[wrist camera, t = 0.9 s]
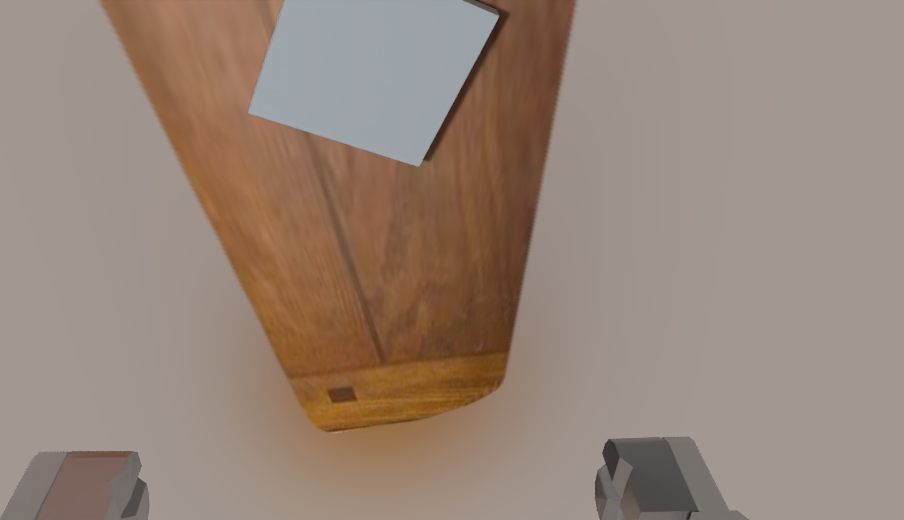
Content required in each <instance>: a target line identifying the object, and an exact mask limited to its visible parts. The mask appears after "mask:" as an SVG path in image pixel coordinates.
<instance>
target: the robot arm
mask: <svg viewBox="0 0 904 520" xmlns="http://www.w3.org/2000/svg"><path fill="white" fill-rule="evenodd" d="M602 454H603V457H604V460H605V463H606V464H605V465H603V466H602V467H601V468H600V469H599V470H598V471H597V476H596V480H595V501H596V507H597V511H598V515H599V518H600V520H749V519H747V518H746V517H745V516H744V515H742V514H741V513H740V512H738V511H729V509H728V507H727V505H726V503H725V501H724V499H723V497H722V495H721V493H720V491H719V489H718V487H717V486H716V483H715V481H714V480H713V478H712V475H711V474H710V471H709V469H708V468H707V466H706V464H705V462H704V460H703V458H702V456H701V454H700V452H699V450H698V448H697V446H696V444H695V442H694V441H693V440H692V439H691V438H690V437H662V438H660V437H649V438H622V439H608V441H607V442H606V443H605V446H604V449H603V453H602ZM141 466H142V465H141V462H140V459H139V456H138V453H137V452H133V451H72V452H39V453H38V454H37V455H36V456H35V457H34V458H33V459H32V460H31V461H30V463H29V465H28V467H27V469H26V471H25V473H24V475H23V477H22V479H21V480H20V482H19V484H18V486H17V488H16V490H15V492H14V494H13V496H12V498H11V499H10V501H9V503H8V505H7V507H6V509H5V511H4V513H3V515H2V516H1V519H0V520H148V513H149V493H148V488H147V484H146V483H145V482H144V481H142V480H141V479H139V478H138V475H139V472H140V469H141Z"/></svg>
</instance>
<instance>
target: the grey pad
mask: <svg viewBox="0 0 904 520" xmlns="http://www.w3.org/2000/svg"><path fill="white" fill-rule="evenodd" d="M498 18H499V14H498V11H497V9H494V8H492V7H490V6H487V5H485V4H483V3H480V2H478V1H476V0H284V1H283V4H282V7H281V10H280V13H279V16H278V19H277V22H276V26H275V29H274V32H273V35H272V38H271V41H270V44H269V47H268V50H267V53H266V56H265V59H264V62H263V65H262V68H261V72H260V75H259V78H258V81H257V84H256V87H255V90H254V93H253V96H252V99H251V102H250V105H249V112H248V113H250V114H253V115H256V116H259V117H263V118H266V119H269V120H272V121H275V122H278V123H282V124H285V125H288V126H291V127H294V128H297V129H300V130H304V131H307V132H310V133H313V134H316V135H319V136H323V137H326V138H329V139H332V140H335V141H338V142H342V143H345V144H348V145H351V146H354V147H357V148H361V149H364V150H367V151H370V152H373V153H376V154H380V155H383V156H386V157H389V158H392V159H395V160H399V161H402V162H405V163H408V164H411V165H414V166H418V167H419V166H420V164H421V162H422V160H423V158H424V156H425V154H426V153H427V151H428V149H429V147H430V145H431V143H432V141H433V140H434V138H435V136H436V134H437V132H438V130H439V128H440V126H441V125H442V123H443V121H444V119H445V117H446V115H447V113H448V112H449V110H450V108H451V106H452V104H453V102H454V100H455V98H456V97H457V95H458V93H459V91H460V89H461V87H462V85H463V84H464V82H465V80H466V78H467V76H468V74H469V72H470V70H471V69H472V67H473V65H474V63H475V61H476V59H477V57H478V56H479V54H480V52H481V50H482V48H483V46H484V44H485V42H486V41H487V39H488V37H489V35H490V33H491V31H492V29H493V28H494V26H495V24H496V22H497V20H498Z"/></svg>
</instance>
